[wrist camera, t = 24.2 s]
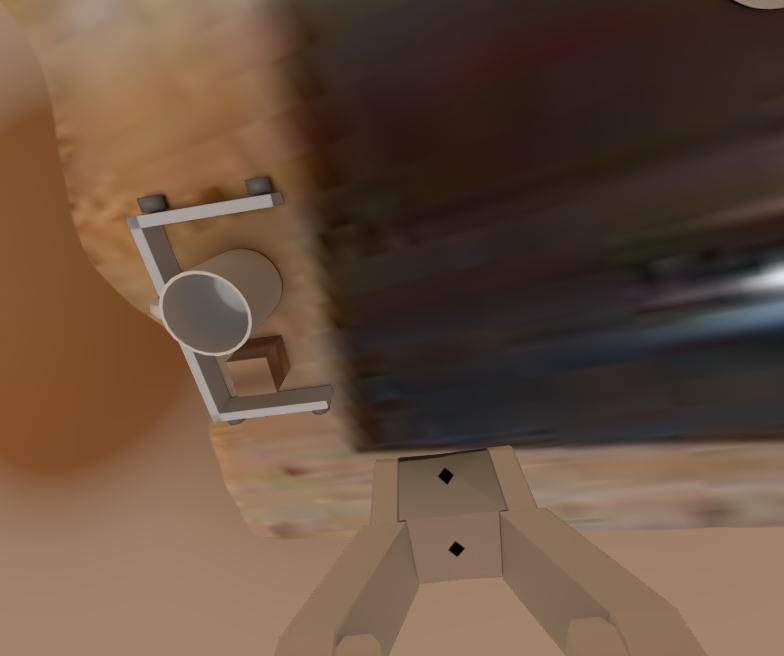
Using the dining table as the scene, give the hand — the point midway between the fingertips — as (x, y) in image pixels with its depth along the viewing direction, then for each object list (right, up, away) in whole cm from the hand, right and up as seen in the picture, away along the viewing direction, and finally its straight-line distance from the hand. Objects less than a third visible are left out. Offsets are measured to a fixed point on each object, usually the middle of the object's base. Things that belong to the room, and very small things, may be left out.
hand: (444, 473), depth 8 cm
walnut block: (-15, 0, +32) cm, 35 cm away
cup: (-17, +8, +29) cm, 34 cm away
